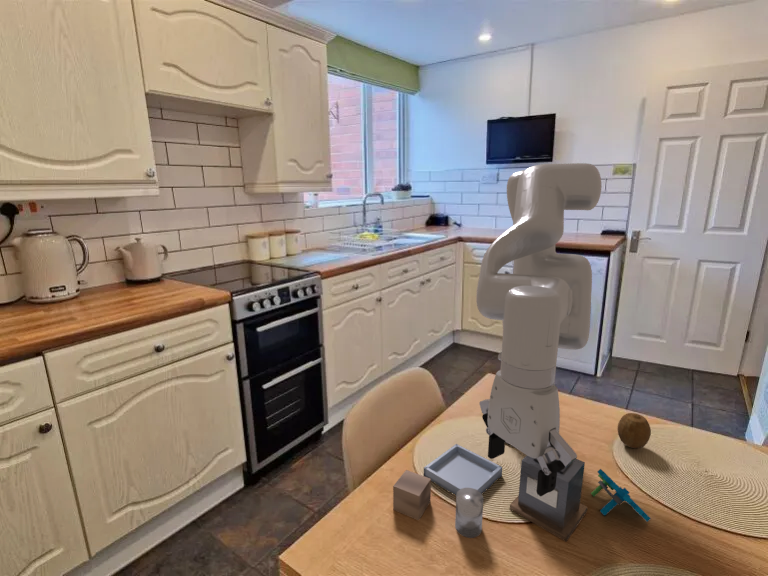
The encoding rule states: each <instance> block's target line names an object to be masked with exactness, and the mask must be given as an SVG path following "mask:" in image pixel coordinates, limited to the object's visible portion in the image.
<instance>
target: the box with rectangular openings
mask: <svg viewBox="0 0 768 576" xmlns="http://www.w3.org/2000/svg"><path fill="white" fill-rule="evenodd" d="M555 451H556V453H557V455H558V457H559V458H560V453H559V452H558V451H557V450H556V449H555ZM545 457H546V459H547V461H548V463H550V462H551V460H550V458H549V456H548V454H547V453H546V454H545ZM585 463H586V462H585V461H582V460H580V459H579V458H576V459H575V460H574V461H573V462H572V463H571V464H570V466H568V467H567V468H565V469H563V470H561V471H558V472H557V478H556V486H555V489H554V490H553V491H551V492H548V493H546V494H545V495H543V496H539V495H538V494H537V492H536V491H537V480H538V472H539V470H541V469H542V468H541V466H540V464H539V462H538V459H537V458H531V457H529V456H527V455H526V454H525V456H524V457H523V458H522V459H521V462H520V475H519V487H518V489H519V490H518V495H517V497H515V498H514V500H512V502H511V503H510V504H509V510H510V509H511V510H510V511H512V510H513V511H514V512H513V511H512V512H513V513H515V512H516V514H517V515H519V516H520V515H521V516H520V517H521V518H524V519H525V520H527V519H528V520H527V521H530V522H531V523H533V524H534V525H537V526H538V527H539V528H541V529H543V530H545V531H547V532H549V533H550V534H552V535H553V536H555V537H557V538H558V539H561V540H562V541H564V542H568V540H569V539H570V537H571V536H572V535H573V533H574V531H575V530H576V528H577V527H578V525H579V524H580V523H581V521H582V520H583V518H584V517H585V515H586V514H587V512H588V506H586V505H585V504H583V503H581V497H582V490H583V489H582V488H583V480H584V475H585Z"/></svg>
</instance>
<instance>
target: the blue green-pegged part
mask: <svg viewBox="0 0 768 576" xmlns="http://www.w3.org/2000/svg"><path fill="white" fill-rule="evenodd" d="M597 473H598V476H597V477H598V478H599V481H598V482H597V483H598V484H599V485H597V487H596V488H595V489H593V491H591V492H590V494H591V496H592V497H595V496H596V495H598V494H599V493H600V492H601V491H602V490H604V491H605V492H606V493H607V494H608V495H609V497H610V498H611V500H609V501H608V502H607V503H606V504H605V505H604V506H603V507H602V508H601V509H599V512H600V513H601V514H602V515H603V516H606V515H607V514H608V513H610V511H612V510H613V509H614V508H615V507H616V506H617V505H618V506H620V505H622V504H623V502H626V504H628V505H630V506H631V507H632V508H633V510H635V512H636V513H638V515H639V516H640V517H642V518H643V520H644V521H645V522H649V521H650V520H651V519H652V518H651V517H650V516H649V515H648V513H646V512H645V511H644V510H643V509H642V508H641V507H640V506H639V505H638V504H637V503H636V502H635V500H633V499H632V498H631V496H630V495H629V494H630V491H629V490H628V489H627V488H626V487H624V488H622V487H621V486H619V485H618V484H617V483H616V482H615V481H614V480H613V479H612V478H611V477H610V476H609V475H608V474H607V473H606V472H605V471H603V470H602V468H600V469H599V470H597ZM608 488H609V489H610V490H612V491H614V492H615V493H614V494H613V493H612V492H611V491H610V490H609V489H608Z"/></svg>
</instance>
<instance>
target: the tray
mask: <svg viewBox="0 0 768 576" xmlns="http://www.w3.org/2000/svg"><path fill="white" fill-rule="evenodd" d="M423 476H425V477H427V478H430V479H431V483H434V482H435V483H436V485H437V486H439V487H440V486H441V488H442V487H443V488H444V489H443V488H442V489H443V490H445V489H446V491H447V490H448V491H450V492H452V493H453V494H455V495H456V494H457V492H458V491H459V490H460V489H462V488H473V489H476V490H478V491H479V492H480V493H481V494H482V493H483V492H484V493H485V492H486V491H487V490H488V489H489V488H490V487H492V486H493V485H494V484H495V483H496V482H497V481H498V480H499V479H500V478H502V476H503V466H501V465H499V464H497V463H495V462H493V461H491V459H489V458H488V459H487V458H485V457H483V456H481V455H480V454H478V453H475V452H474V451H471V450H470V449H467V447H466V448H465V447H463V446H461V445H460V444H458V443H455V444H454V445H453V446H451V447H450V448H449V449H447V450H445V451H444V452H443V453H442V454H440V455H439V456H438V457H436V458H435V459H433V460H432V461H431V462H429V463H428V464H426V465H425V466H424V467H423ZM498 478H499V479H498ZM497 479H498V480H497ZM496 480H497V481H496ZM495 481H496V482H495ZM494 482H495V483H494ZM435 483H434V484H435ZM493 483H494V484H493ZM492 484H493V485H492ZM491 485H492V486H491ZM486 489H487V490H486ZM448 491H447V492H448ZM450 492H449V493H450ZM452 493H451V494H452ZM484 493H483V494H484ZM453 494H452V495H453ZM483 494H482V495H483ZM455 495H454V496H455Z"/></svg>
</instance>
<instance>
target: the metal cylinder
mask: <svg viewBox="0 0 768 576" xmlns="http://www.w3.org/2000/svg"><path fill="white" fill-rule="evenodd" d="M455 497H456V498H455V517H454V518H455V520H454V521H455V522H454V527H455V530H456V532H457V533H458V534H459V535H461V536H463V537H465V538H469V539H474V538H477V537H479V536H480V535H481V534H482V529H483V516H484V513H483V512H484V511H483V510H484V495H483V494H481V493H480V492H479V491H478V490H476V489H473V488H462V489H460V490H459V491H458V492H457V494H456V496H455Z"/></svg>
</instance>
